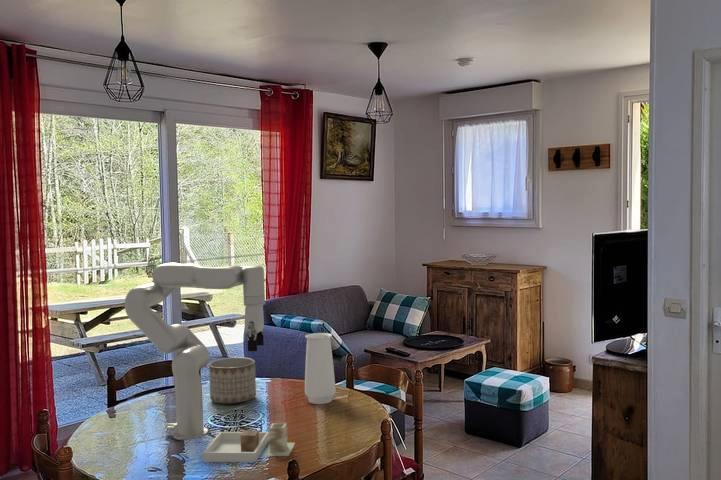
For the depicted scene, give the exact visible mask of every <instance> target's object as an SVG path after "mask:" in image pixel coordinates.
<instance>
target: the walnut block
mask: <svg viewBox="0 0 721 480" xmlns="http://www.w3.org/2000/svg"><path fill="white" fill-rule="evenodd" d="M242 432H243V433H242V434H241V435H240V436H241V452H254V451H255V449H256V448H257V446H258V445H259V432H260V431H259V430H258V429H257V430H255V429H254V430H249V429H248V430H243V431H242Z"/></svg>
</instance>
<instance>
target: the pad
mask: <svg viewBox="0 0 721 480" xmlns="http://www.w3.org/2000/svg"><path fill="white" fill-rule="evenodd" d="M295 444H296V442H287V448H286V450H285V452H270V442H268V445H266V447H265V448H264V450H263V452H262V453H261V454H262V455H261V456H262V457H263V456H264V457H267V456H269V457H270V456H271V457H277V456H278V457H280V456H281V457H287V456H288V457H289V456H290V454H291V453H292V450H293V448H294V446H295Z"/></svg>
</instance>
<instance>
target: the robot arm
mask: <svg viewBox="0 0 721 480" xmlns="http://www.w3.org/2000/svg"><path fill="white" fill-rule="evenodd" d="M239 286H242V291H243V293H242V295H243V296H242V297H243V306H244V308H245V309H244V333H245V334H247V351H248V352H257V351H258V346H264V342H265V341H264V326H265V325H264V324H265V320H264V319H265V318H264V317H265V316H264V305H266V296H265V292H266V290H265V270H264V267H263V266H261V265H238V264H232V265H229V266H226V267H225V266H224V267H204V266H200V265H199V264H197V263H178V262H176V261H175V262H167V263H162V264H159V265H157V266H156V267H155V268H154V269H153V271H152V280H151V281H150V282H149V283H145V284H141V285H140V284H139V285H137V286H135V287H133V288H131V289H130V290H129V291H128V292H127V294H126V295H125V299H124V310H125V313H126V315H127V317H128V319H129V320H130V321H131V323H133V324H134V326H136V327H137V328H138V330H140V331H141V333H143V335H144V336H145V337H146V338H147V339H148V340H149V341H150V342H151V343H152V344H153V345H154V346H155V347H156V349H157V350H158V351H159V352H161V353H162V354H166V355H169V354H172V353H175V352H177V353H176V354H175V355H174V357H173V359H172V361H171V371H172V375H173V382H174V394H175V396H174V397H175V398H174V399H175V418H176V422H174V423H172V422H169V423H168V422H167V423H166V425H165V428H166V430H167V431H173V432H172V438H173V439H175V440H178V441H182V440H185V441H186V440H193V439H199V438H202V437H204V436H206V435H207V434H208V433H209V430H208V428H207V427H205V426H204V407H203V405H204V404H203V403H204V402H203V385H202V384H203V383H202V379H201V375H200V371H201V370H202V369H204V368H206V367H207V366H208V365H209V363H210V358H211V355H210V351H209V349H208V348H207V346H206V345H205V344H204V343H203V342H202V341H201V340H200V339H199V338H198V337H197V336H196V335H195V334H194V333H193V332H192V330H191V329H190V328H188V327H187V326H185V325H184V324H181V323H174V324H171V325H170V324H169V323H167V321H166V320H165V319H164V318H163V317H162V315H160V314H159V313H157V312H156V311H155V310H153V309H152V308H151V307H153V306H156V305H159V304H161V303H163V302H164V300H166V298H168V297H169V296H170V295H172V293H173V292H174V291H175V290H176V289H177V288H193V289H194V288H196V289H203V290H204V289H207V290H228V289H232V288H235V287H239Z"/></svg>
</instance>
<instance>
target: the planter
mask: <svg viewBox="0 0 721 480" xmlns="http://www.w3.org/2000/svg"><path fill="white" fill-rule="evenodd" d="M208 367H209V369H208V371H209V372H208V373H209V374H208V375H209V395H210V396H209V397H210V400H211V401H213V402H214V403H219V404H226V405H229V404H230V405H233V404H240V403H243V402H247V401H250V400H252V399H254V398H255V397H256V396H257V388H256V385H257V384H256V383H257V382H256V361H255V359H253V358H249V357H241V356H239V357H224V358H219V359H215V360H213V361H211V362H208Z"/></svg>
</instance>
